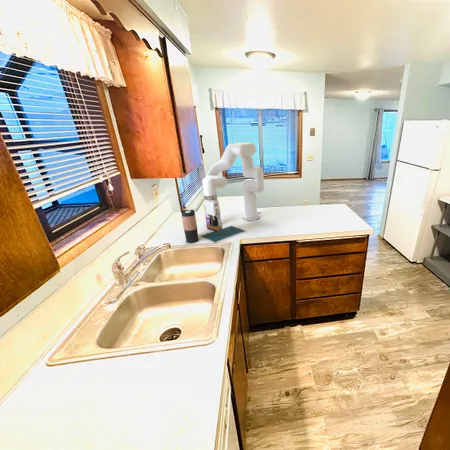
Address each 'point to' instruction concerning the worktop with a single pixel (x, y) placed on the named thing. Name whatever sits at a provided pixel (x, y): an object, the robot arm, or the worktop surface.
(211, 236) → the mat
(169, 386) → the worktop surface
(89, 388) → the worktop surface
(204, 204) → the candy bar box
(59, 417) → the worktop surface
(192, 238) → the travel mug
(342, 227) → the worktop surface
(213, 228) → the brush
